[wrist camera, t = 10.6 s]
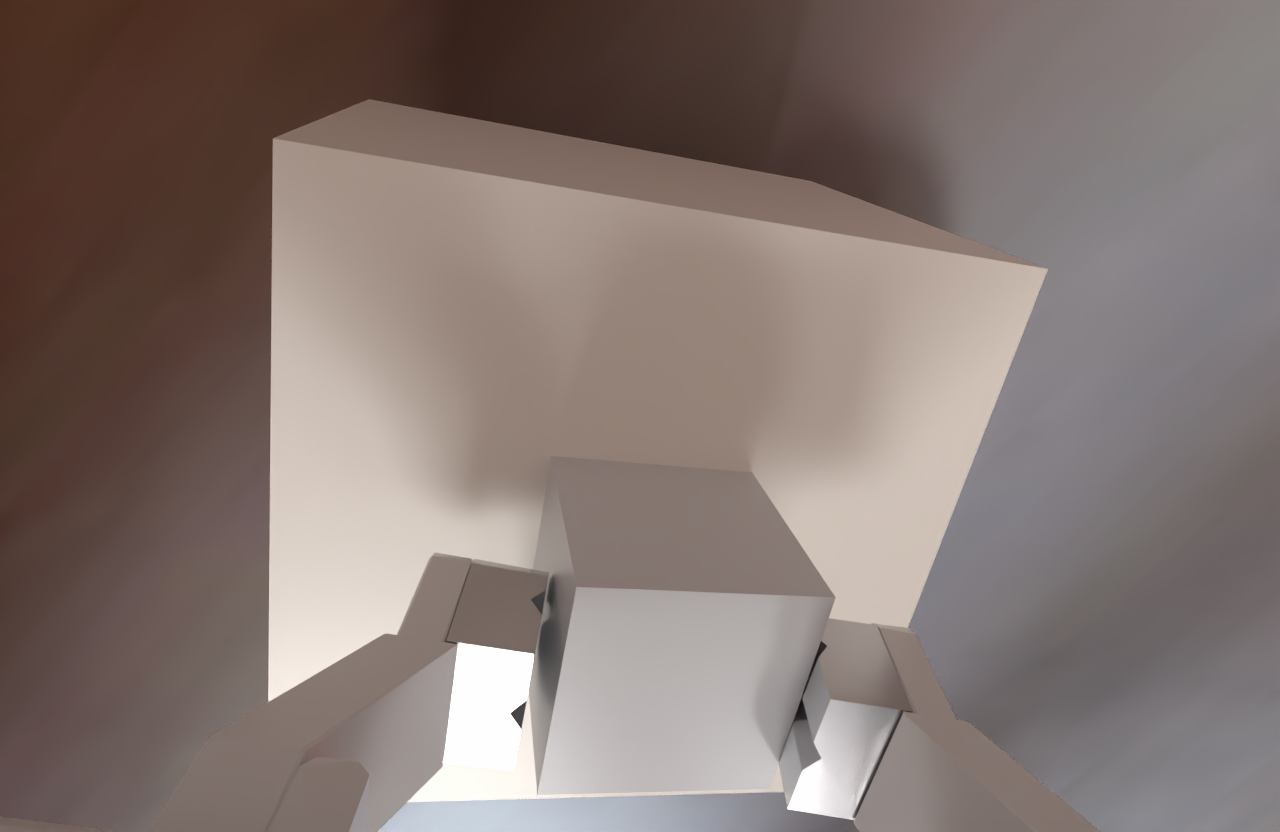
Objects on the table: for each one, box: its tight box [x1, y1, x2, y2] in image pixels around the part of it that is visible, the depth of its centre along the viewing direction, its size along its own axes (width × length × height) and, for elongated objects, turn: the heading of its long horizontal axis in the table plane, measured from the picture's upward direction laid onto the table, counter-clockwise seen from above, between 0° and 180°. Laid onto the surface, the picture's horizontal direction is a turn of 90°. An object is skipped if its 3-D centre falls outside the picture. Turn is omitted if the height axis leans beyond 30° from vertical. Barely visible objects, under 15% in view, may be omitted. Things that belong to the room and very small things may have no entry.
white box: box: [268, 99, 1048, 802], centre depth 14 cm, size 10×10×12 cm
